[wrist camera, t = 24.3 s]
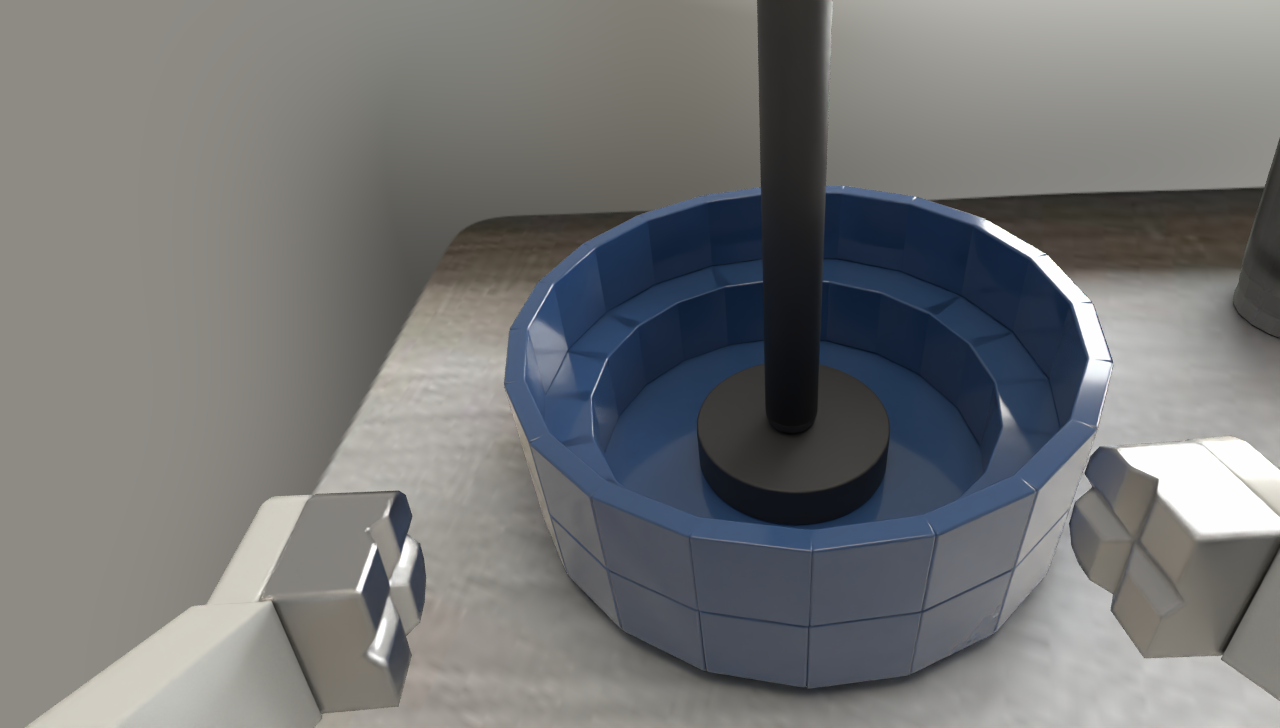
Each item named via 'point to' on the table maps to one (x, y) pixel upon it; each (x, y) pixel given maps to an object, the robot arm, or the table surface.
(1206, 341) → the table surface
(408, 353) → the table surface
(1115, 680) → the table surface
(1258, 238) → the beverage cup
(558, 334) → the mixing bowl
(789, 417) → the peg stand
